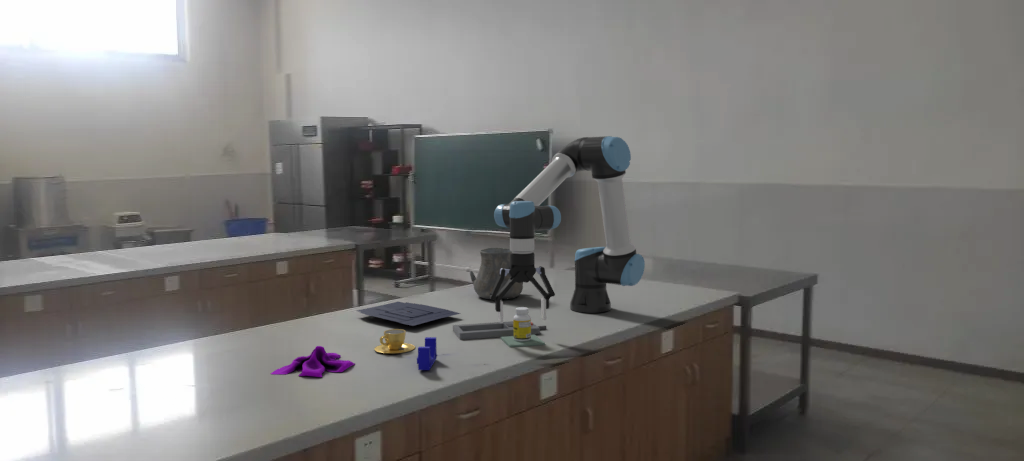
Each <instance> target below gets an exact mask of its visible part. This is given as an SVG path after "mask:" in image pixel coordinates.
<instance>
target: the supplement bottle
mask: <svg viewBox="0 0 1024 461" xmlns="http://www.w3.org/2000/svg"><path fill="white" fill-rule="evenodd" d="M531 318H532V317H531V315H530V314H529V308H528V307H526V306H525V307H524V306H520V307H518V306H517V307H516V308H515V315H513V319H512V320H513V330H514V340H515V341H520V342H523V341H529V340H531V322H532V319H531Z"/></svg>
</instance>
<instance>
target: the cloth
mask: <svg viewBox="0 0 1024 461" xmlns="http://www.w3.org/2000/svg"><path fill="white" fill-rule="evenodd" d="M341 356H342V355H341V354H339V353H336V352H327V351H326V349H325V347H324V346H322V345H316V346H315V348H314V349H313V350H312V351H311V353H310V354H309V355H307V356H305V355H301V356H298V357H296V358H294V359H293V360H292V362H291V363H290V364H288V365H283V366H282V367H280V368H277V369H275V370H274V371H272V372H271V373H270V375H274V376H275V375H276V376H279V375H280V376H281V375H282V376H283V375H288V374H290V373H292V372H294V371H297V372H299V374H298V377H316V378H323V375H322V374H323V373H325V372H328V373H344V372H345V371H346V370H347V369H348V368H351V367H352V366H355V365H356V363H354V362H353V361H351V360H349V359H348V360H345V359H344V360H342V359H340V358H341Z"/></svg>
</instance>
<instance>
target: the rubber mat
mask: <svg viewBox="0 0 1024 461" xmlns="http://www.w3.org/2000/svg"><path fill="white" fill-rule="evenodd" d="M500 340H502V341H503V342H504V344H505V345H507V346H508V347H509V348H519V347H534V346H545V345H546V343H545V341H543V340H542V339H541V338H540V337H539V336H537V334H535V335H531V340H529V341H523V342H520V341H515V340H514V336H506V337H500Z"/></svg>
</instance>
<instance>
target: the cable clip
mask: <svg viewBox="0 0 1024 461" xmlns="http://www.w3.org/2000/svg"><path fill="white" fill-rule="evenodd" d="M437 350H438V349H437V337H436V336H435V337H434V336H433V337H432V336H431V337H429V336H427V337H424V346H418V347H417V357H416V364H417V366H418V367H417V369H418V371H430V370H431V368H432V366H433V365H434V364H435V362H436V361H437V353H438V352H437Z"/></svg>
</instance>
